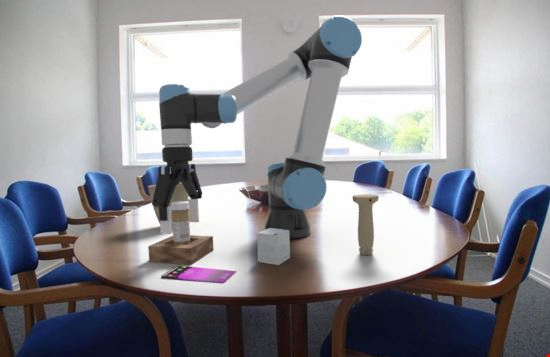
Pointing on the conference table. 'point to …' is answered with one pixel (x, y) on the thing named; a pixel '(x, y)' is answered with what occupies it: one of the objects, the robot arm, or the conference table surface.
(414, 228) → the conference table surface
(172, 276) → the smartphone
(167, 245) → the bore block
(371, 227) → the handle
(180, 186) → the plant pot
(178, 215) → the sprinkles bottle
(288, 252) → the skincare box
